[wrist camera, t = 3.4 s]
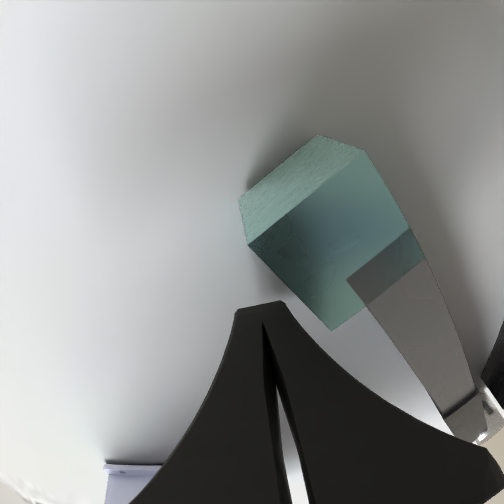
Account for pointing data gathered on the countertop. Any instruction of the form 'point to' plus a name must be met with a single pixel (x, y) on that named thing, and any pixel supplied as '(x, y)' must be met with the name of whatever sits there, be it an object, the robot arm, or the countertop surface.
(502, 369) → the tongs fixed arm
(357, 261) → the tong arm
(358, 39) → the countertop surface
